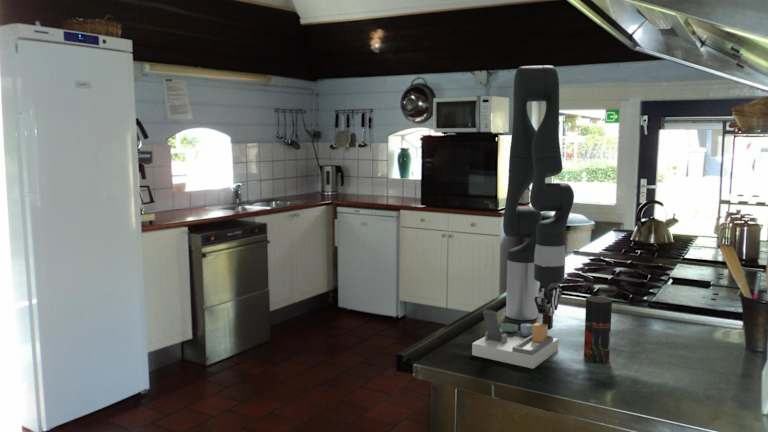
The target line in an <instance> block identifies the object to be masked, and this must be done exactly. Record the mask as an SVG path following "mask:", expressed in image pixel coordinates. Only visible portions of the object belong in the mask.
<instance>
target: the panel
mask: <svg viewBox="0 0 768 432" xmlns="http://www.w3.org/2000/svg"><path fill="white" fill-rule="evenodd" d="M499 328H500V333H501V341H500V342H499V341H494V340H489V336H488V332H487V331H485V333H484V336H482V338H480V339H479V338H478V340H475V341H474V342H472V344H471V346H472V347H471V353H472V354H471V355H472V356H475V357H479V358H484V359H488V360H493V361H498V362H502V363H506V364H510V365H516V366H520V367H524V368H528V369H532V370H533V369H535V368H537V366H539V365H540V364H542V363H544V361H546V360H547V359H548V358H550V357H551V356H552V355H554V354H555V353H556V352H558V351H559V338H557V337H553V336H551V335H547V340H545V341H544V342H537V341H532V335H531V336H523V335H521V334H520V330H518V331H515V332H509V331H504V330H501V327H499Z"/></svg>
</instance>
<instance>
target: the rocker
mask: <svg viewBox="0 0 768 432" xmlns="http://www.w3.org/2000/svg"><path fill="white" fill-rule="evenodd" d="M500 324H501V325H500V328H501V330H504V331H509V332H515V331H519V324H515V323H509V322H506V323H500Z"/></svg>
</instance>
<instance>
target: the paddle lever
mask: <svg viewBox="0 0 768 432" xmlns="http://www.w3.org/2000/svg"><path fill="white" fill-rule="evenodd" d="M482 314H483V319H484V323H485V327H486V332H488V336H489V340H494V341H499V342H500V341H501V333H500V328H501V327H500V325H499V320H498V316H497V311H496V310H491V309H485V308H484V309H483V311H482Z"/></svg>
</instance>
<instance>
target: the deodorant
mask: <svg viewBox="0 0 768 432" xmlns="http://www.w3.org/2000/svg"><path fill="white" fill-rule="evenodd" d="M612 306H613V300H612V299H611V298H609V297H605V296H598V295H591V296H588V297H586V298H585V317H584V319H585V321H584V338H583V339H584V341H583V342H584V343H583V346H584V347H583V359H584V361H586V362H587V363H592V364H597V365H600V364H601V365H602V364H607V363H609V362H610V351H611V332H612V329H611V328H612V312H613V310H612V309H613V307H612Z"/></svg>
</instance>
